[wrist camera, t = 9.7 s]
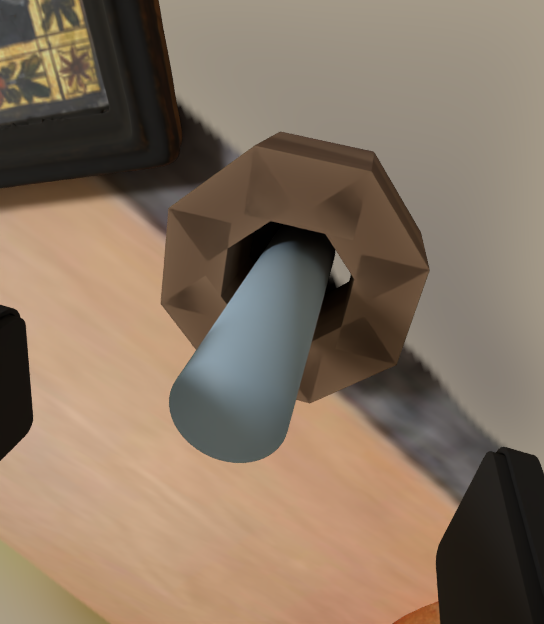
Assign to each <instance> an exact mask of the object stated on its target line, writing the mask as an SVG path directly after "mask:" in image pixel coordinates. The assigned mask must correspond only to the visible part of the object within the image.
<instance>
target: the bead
mask: <svg viewBox="0 0 544 624" xmlns="http://www.w3.org/2000/svg"><path fill="white" fill-rule="evenodd" d="M270 221H273V222H277V223H282V224H286V225H290V226H294V227H299V228H303V229H307V230H311V231H316V232H320V233H324V234H326V236H327V237H328V239H329V240H330V242H331V243H332V245H333V247H334V248H335V250H336V251H337V253H338V254H339V256H340V257H341V259H342V260H343V262H344V264H345V265H346V267H347V268H348V270H349V271H350V273H351V277H350V280H349V282H347V283H345V284H344V285H342V286H340V287H338V288H336V289H334V290H333V291H331V292H329V293H327V294H325V295H324V298H323V302H322V305H321V309H320V313H319V316H318V320H317V324H316V328H315V331H314V335H313V339H312V342H311V346H310V350H309V353H308V357H307V361H306V364H305V368H304V372H303V376H302V379H301V383H300V387H299V390H298V394H297V398H296V400H299V401H303V402H307V403H312V402H314V401H316V400H319V399H321V398H323V397H325V396H328V395H330V394H332V393H334V392H337V391H339V390H341V389H343V388H346V387H348V386H350V385H352V384H355V383H357V382H359V381H361V380H364V379H366V378H368V377H370V376H372V375H375V374H377V373H379V372H381V371H384V370H386V369H388V368H390V367H393V366H395V365H397V362H398V359H399V356H400V354H401V351H402V348H403V345H404V342H405V339H406V336H407V333H408V331H409V328H410V325H411V322H412V319H413V316H414V313H415V310H416V308H417V305H418V302H419V299H420V296H421V293H422V291H423V288H424V285H425V282H426V279H427V276H428V273H429V265H428V261H427V257H426V252H425V248H424V244H423V240H422V235H421V232H420V230H419V228H418V227H417V225H416V223H415V221H414V220H413V218H412V216H411V214H410V213H409V211H408V209H407V208H406V206H405V205H404V202H403V201H402V199H401V198H400V196H399V194H398V192H397V190H396V189H395V187H394V185H393V184H392V182H391V180H390V178H389V177H388V175H387V173H386V172H385V170H384V168H383V166H382V165H381V163H380V161H379V159H378V158H377V156H376V154H375V153H374V152H373V151H368V150H363V149H359V148H354V147H349V146H345V145H340V144H335V143H331V142H326V141H322V140H317V139H313V138H308V137H303V136H299V135H294V134H289V133H285V132H279V133H277V134H275V135H273V136H271V137H269V138H268V139H266V140H264V141H262V142H260V143H259V144H257V145H255V146H253V147H252V148H251V149H249V150H248V151H247V152H245V153H244V154H242V155H241V156H240V157H238V158H237V159H236V160H234V161H233V162H231V163H230V164H229V165H227V166H226V167H224V168H223V169H222V170H220V171H219V172H218V173H216V174H215V175H213V176H212V177H211V178H209V179H208V180H207V181H205V182H204V183H202V184H201V185H200V186H198V187H197V188H196V189H194V190H193V191H191V192H190V193H189V194H187V195H186V196H185V197H183V198H182V199H180V200H179V201H178V202H176V203H175V204H174V205H172V206H171V207H169V210H168V222H167V234H166V246H165V258H164V270H163V282H162V294H161V305H162V306H163V307H164V309H165V310H166V311H167V313H168V314H169V315H170V316H171V318H172V319H173V320H174V322H175V323H176V324H177V326H178V327H179V328H180V329H181V331H182V332H183V333H184V335H185V336H186V337H187V338H188V340H189V341H190V342H191V344H192V345H193V346H194V348H195V349H196V350H197V348H198V347H199V346H200V344H201V343H202V341H203V340H204V338H205V337H206V335H207V334H208V332H209V331H210V329H211V328H212V326H213V325H214V323H215V322H216V321H217V319H218V318H219V316H220V315H221V313H222V312H223V310H224V309H225V307H226V306H227V304H228V303H229V301H230V300H231V299H232V297H233V296H234V294H235V293H236V291H237V290H238V288H239V287H240V285H241V284H242V282H243V281H244V279H245V278H246V277H247V275H248V274H249V272H250V271H251V269H252V268H253V266H254V265H255V264H254V263H253V261H252V260H251V258H250V252H251V246H252V240H253V234H254V231H256V230H257V229H259V228H260V227H262V226H264V225H265V224H267V223H268V222H270Z"/></svg>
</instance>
